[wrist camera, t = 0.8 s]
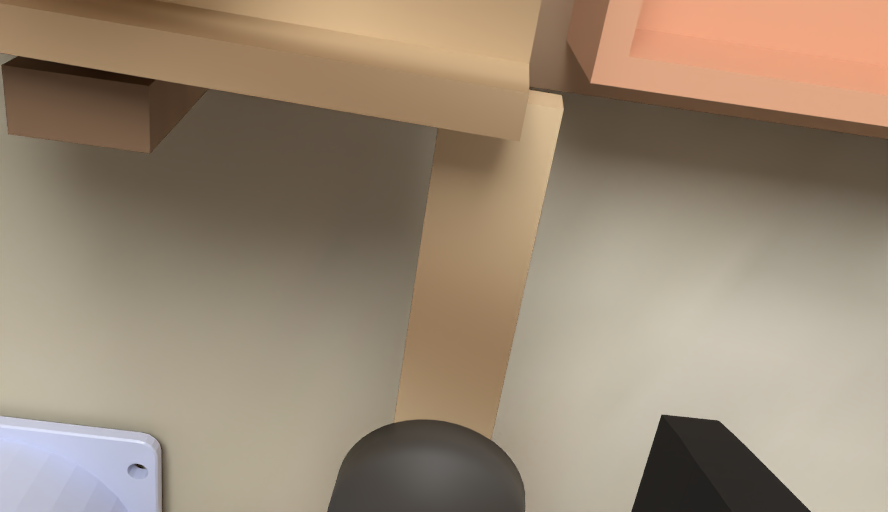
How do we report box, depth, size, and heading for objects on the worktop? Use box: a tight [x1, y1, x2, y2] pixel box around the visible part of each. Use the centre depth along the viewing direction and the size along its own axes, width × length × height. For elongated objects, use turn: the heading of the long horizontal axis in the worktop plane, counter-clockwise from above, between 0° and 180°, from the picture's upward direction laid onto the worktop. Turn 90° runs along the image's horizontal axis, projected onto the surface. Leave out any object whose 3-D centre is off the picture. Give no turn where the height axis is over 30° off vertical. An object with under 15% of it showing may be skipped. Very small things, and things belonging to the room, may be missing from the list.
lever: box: [0, 0, 564, 512], centre depth 10 cm, size 13×11×4 cm
